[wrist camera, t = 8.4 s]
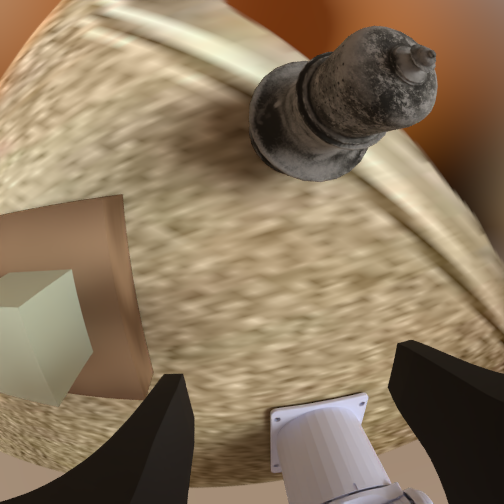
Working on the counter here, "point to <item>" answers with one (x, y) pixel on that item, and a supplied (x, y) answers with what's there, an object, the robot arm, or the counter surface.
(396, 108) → the grey stone chess piece
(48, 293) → the sage block
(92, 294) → the walnut block
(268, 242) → the counter surface
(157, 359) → the counter surface
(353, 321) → the counter surface
